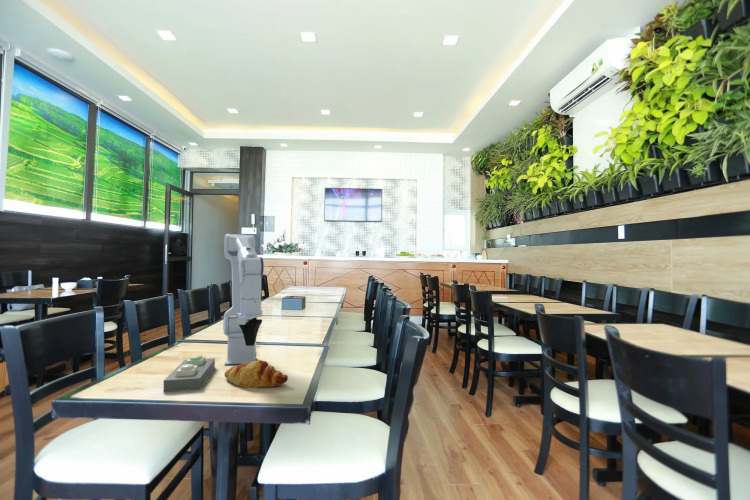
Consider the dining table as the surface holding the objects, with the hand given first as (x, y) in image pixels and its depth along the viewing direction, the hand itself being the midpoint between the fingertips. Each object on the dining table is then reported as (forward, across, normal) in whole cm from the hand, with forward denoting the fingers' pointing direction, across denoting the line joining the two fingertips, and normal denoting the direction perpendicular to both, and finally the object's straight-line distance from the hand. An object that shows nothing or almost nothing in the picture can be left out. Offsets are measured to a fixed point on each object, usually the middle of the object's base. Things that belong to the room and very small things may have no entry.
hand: (250, 345), depth 106 cm
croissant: (+11, +1, +2) cm, 11 cm away
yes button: (+9, -6, -19) cm, 22 cm away
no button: (+9, +3, -17) cm, 19 cm away
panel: (+10, -2, -18) cm, 21 cm away
